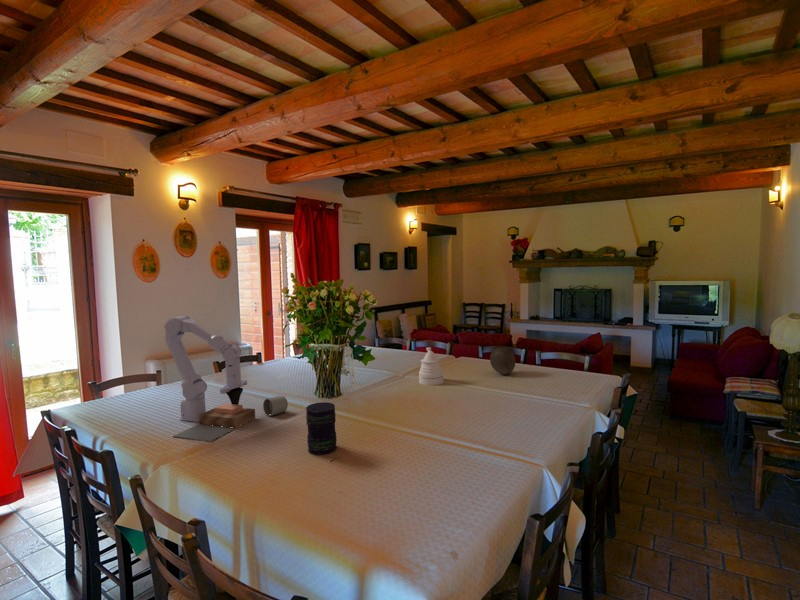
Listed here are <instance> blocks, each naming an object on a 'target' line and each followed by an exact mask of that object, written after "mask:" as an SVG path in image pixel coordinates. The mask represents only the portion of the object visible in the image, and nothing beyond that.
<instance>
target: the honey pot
mask: <svg viewBox="0 0 800 600" xmlns="http://www.w3.org/2000/svg"><path fill="white" fill-rule="evenodd" d="M425 348H426V351H427V352H426V353H425V355H424V358H422V359H420V362H421V365H420V369H419V372H418V382H419V384H420V385H422V386H423V385H425V386H438V385H441V384H444V371H443V368H442V366H441V363H440V359H439V358H438V357H437V355H436V354H435V353H434V351H432V347H425Z"/></svg>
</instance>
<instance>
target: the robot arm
mask: <svg viewBox="0 0 800 600" xmlns="http://www.w3.org/2000/svg"><path fill="white" fill-rule="evenodd" d="M163 328H164V330H165V336H164V339H165V343H166V345H167V348H168V349H169V351H170V354H171V356H172V358H173V361H174V363H175V365H176V367H177V369H178V372H179V374H180V376H181V378H182V381H181V384H180V385H181V389H182V391H181V392H182V396H183V398H182V400H181V401H180V405H179V407H180V416H181V417H180V419H179V420H180V421H186V422H187V421H188V422H195V423H196V422H197V423H198V422H199V415H200V414H202V413H205V412H207V409H206V395H205V394H206V393H205V392H206V391H207V390H208V385H207V382H206V381H205V380H203V379H202V376H201V375H200V374H198V373H197V372H196V370H195V368H194V366H193V364H192V362H191V359H190V357H189V355H188V352H187V351H186V350H187V349H186V347H185V346H184V344H183V341H182V338H183V337H184V334H185V333H191V334H194V336H195V335H196V336H197V337H199V338H201V339H203V340H204V341H205V342H207V344H208V347H210V348H211V349H213V351H216V353H219V354H220V355H221V356H222V359H223V360H224V361H225V362H224V363H225V378H226V385H224V386H223V387H222V388H220V389H219V392H220V394H221V395H222V394H223V395H225V394H227V395H226V396H228V399H229V401H230V404H237V405H240V404H239V402H240V398H241V395H242V394H243V391H244V386H246V385H248V380H246V379H242V377H241V376H242V375H241V361H240V359H241V358H240V356H241V355H242V348H241V347H240V346H239V345H238V344H233V343H232V342H229V341H228V340H227V339H225V338H224V336H223V335H219V334H215V335H213V334H212V333H211V332H209V330H207V329H205V328H204V327H203V326H202V325H200V324H199V323H197V322H196V320H194V319H193V318H191V317H189V316H188V315H185V314H182V315H179V316H175V317H170V318H168V320H166V322H165V324H164V326H163Z"/></svg>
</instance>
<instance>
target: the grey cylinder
mask: <svg viewBox="0 0 800 600" xmlns="http://www.w3.org/2000/svg"><path fill="white" fill-rule="evenodd" d="M288 405H289V404H288V400H287V398H286V396H284V395H278V396H272V397H266V398H265V399H264V400H263V405H262V408H263V412H264V414H265V415H266V416H267V415H268V416H267V417H272V416H276V415H279V414H282V413H284V412H286V411H287V410H288ZM269 414H271V415H269Z"/></svg>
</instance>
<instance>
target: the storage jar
mask: <svg viewBox="0 0 800 600" xmlns="http://www.w3.org/2000/svg"><path fill="white" fill-rule="evenodd" d="M335 406H336V405H335V404H334V403H332V402H324V401H323V402H316V403H315V402H314V403H312V404H309V405H307V406H306V407H305V408H306V409H305V411H306V414H305V418H306V425H307V437H306V439H307V442H306V443H307V447H308V449H307V452H308V453H309V454H310V455H312V456H325V455H326V456H327V455H329V454H332V453H335V452H336V450H337V431H336V407H335Z"/></svg>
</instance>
